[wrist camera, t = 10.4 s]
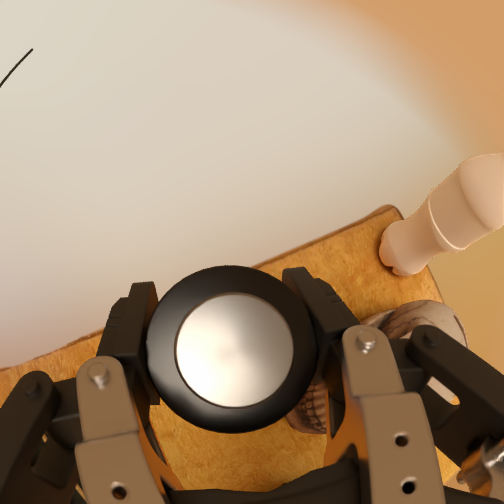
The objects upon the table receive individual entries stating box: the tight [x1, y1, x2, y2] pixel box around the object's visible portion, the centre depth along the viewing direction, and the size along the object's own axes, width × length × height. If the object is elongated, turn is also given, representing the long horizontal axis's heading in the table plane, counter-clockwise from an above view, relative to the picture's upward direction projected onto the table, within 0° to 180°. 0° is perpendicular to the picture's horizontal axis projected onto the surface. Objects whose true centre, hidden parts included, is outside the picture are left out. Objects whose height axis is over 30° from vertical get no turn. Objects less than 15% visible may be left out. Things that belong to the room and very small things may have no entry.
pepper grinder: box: [144, 265, 318, 434], centre depth 10 cm, size 5×5×8 cm
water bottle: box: [379, 152, 504, 276], centre depth 21 cm, size 7×7×25 cm
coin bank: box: [285, 300, 469, 434], centre depth 22 cm, size 16×17×13 cm
